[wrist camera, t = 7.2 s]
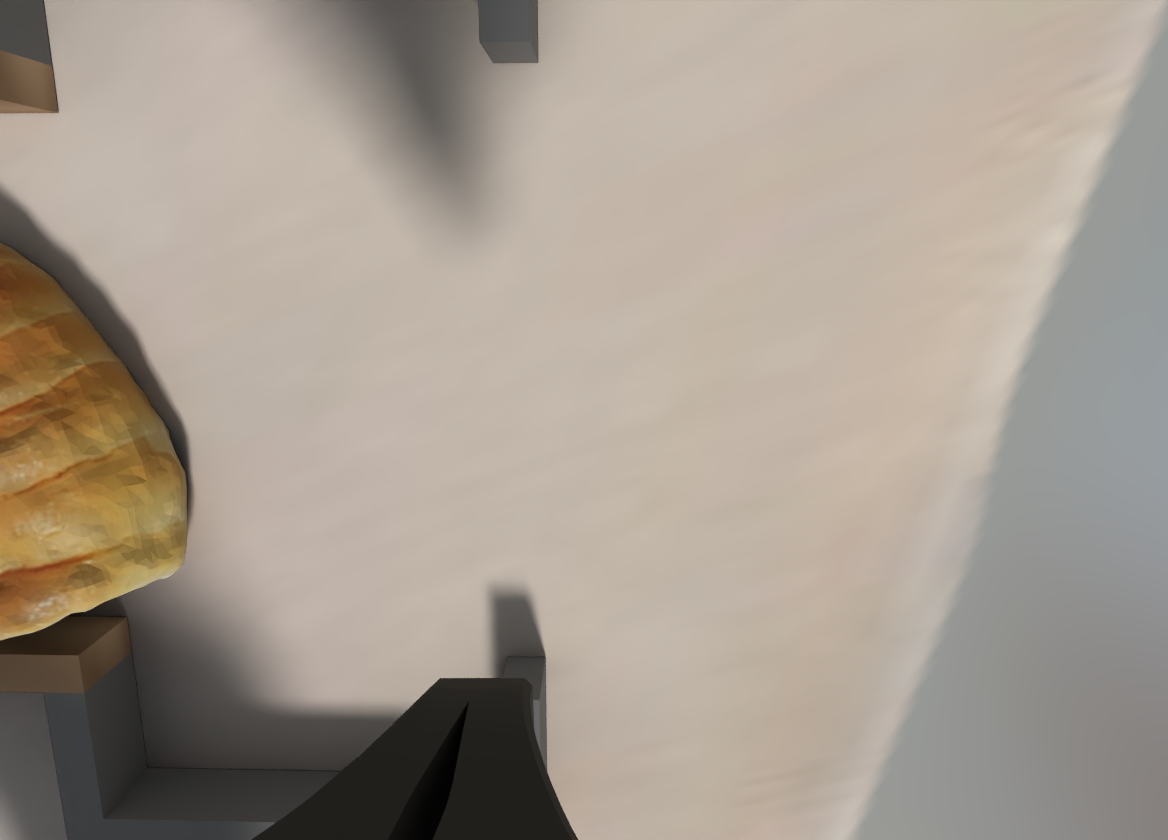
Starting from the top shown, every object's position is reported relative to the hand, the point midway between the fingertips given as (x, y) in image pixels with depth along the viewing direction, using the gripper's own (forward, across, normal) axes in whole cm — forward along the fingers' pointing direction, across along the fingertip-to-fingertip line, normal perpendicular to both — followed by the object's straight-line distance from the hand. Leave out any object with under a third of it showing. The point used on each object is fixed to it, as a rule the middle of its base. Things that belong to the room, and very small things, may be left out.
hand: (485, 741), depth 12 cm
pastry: (+10, +12, -2) cm, 16 cm away
